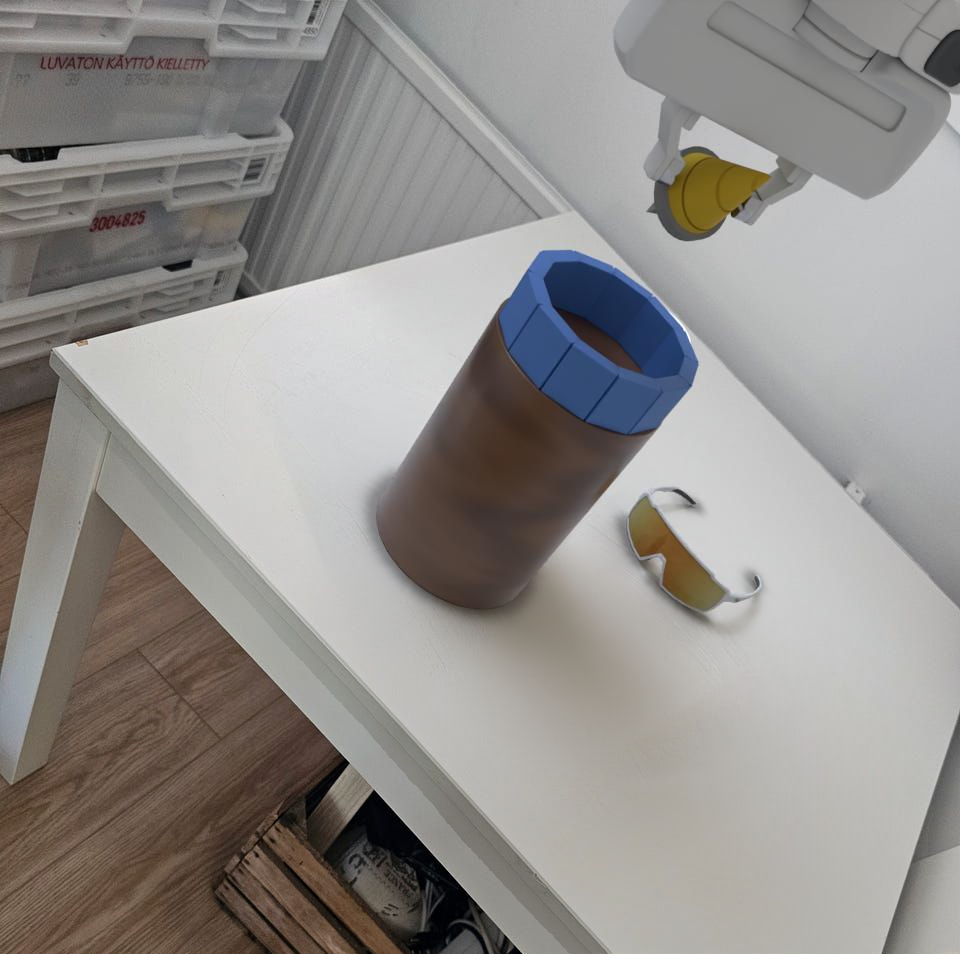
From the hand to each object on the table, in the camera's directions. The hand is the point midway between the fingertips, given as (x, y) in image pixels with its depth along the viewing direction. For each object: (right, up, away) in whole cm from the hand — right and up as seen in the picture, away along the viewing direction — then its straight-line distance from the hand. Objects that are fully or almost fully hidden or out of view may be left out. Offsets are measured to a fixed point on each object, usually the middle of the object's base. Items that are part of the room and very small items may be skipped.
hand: (697, 197), depth 64 cm
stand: (-16, -19, +22) cm, 33 cm away
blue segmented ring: (-6, -8, +9) cm, 13 cm away
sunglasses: (+7, -19, +38) cm, 43 cm away
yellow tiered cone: (-1, -2, +2) cm, 3 cm away
